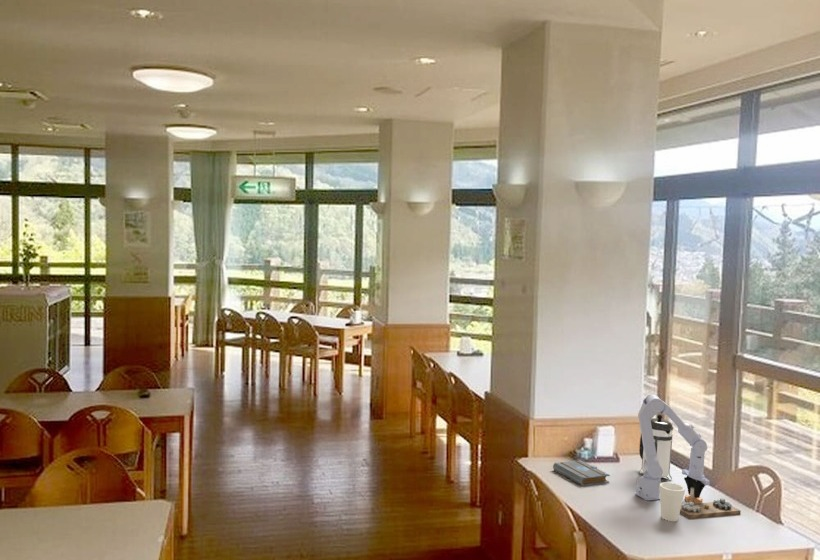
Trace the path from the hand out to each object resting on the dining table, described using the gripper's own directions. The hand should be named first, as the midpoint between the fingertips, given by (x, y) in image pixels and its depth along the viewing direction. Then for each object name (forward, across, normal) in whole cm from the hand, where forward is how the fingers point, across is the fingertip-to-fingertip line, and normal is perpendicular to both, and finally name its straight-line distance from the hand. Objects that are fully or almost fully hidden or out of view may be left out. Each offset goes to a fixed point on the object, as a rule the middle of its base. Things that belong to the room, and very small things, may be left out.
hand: (693, 495), depth 298 cm
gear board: (+2, -11, +3) cm, 12 cm away
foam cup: (+2, -14, +24) cm, 28 cm away
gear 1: (+1, -11, +11) cm, 16 cm away
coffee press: (+2, +31, -3) cm, 31 cm away
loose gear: (+2, 0, 0) cm, 2 cm away
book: (+3, +36, +33) cm, 49 cm away
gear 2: (+1, -11, -5) cm, 12 cm away
